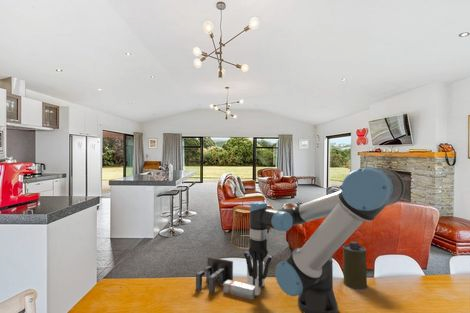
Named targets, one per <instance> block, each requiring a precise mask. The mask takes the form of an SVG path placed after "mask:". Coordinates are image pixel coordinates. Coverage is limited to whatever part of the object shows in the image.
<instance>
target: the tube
mask: <svg viewBox="0 0 470 313" xmlns="http://www.w3.org/2000/svg"><path fill="white" fill-rule="evenodd" d="M222 290H223V293H225V294H229V295H233V296H237V297H241V298H244V299H247V300H254V298H255V297H256V296H257V295H255V286H253V285H249V284H247V283H245V282H240V281H236V280H227V281H224V284H223V289H222Z"/></svg>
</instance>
